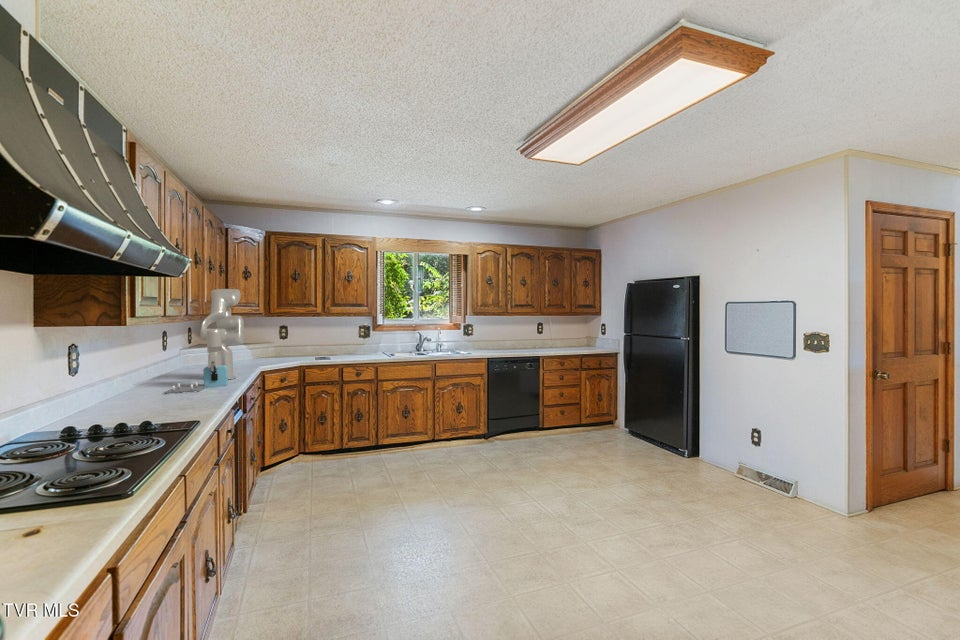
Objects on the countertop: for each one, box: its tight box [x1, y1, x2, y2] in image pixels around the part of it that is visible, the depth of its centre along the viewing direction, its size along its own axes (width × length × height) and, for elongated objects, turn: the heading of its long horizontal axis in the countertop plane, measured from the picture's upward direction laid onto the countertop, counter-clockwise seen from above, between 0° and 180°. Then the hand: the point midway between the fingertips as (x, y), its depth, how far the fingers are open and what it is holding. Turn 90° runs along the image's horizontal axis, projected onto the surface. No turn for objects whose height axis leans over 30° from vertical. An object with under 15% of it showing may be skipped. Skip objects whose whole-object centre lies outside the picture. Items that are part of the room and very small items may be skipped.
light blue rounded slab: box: [202, 366, 229, 388], centre depth 275 cm, size 12×4×12 cm, turn 111°
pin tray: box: [163, 381, 207, 394], centre depth 261 cm, size 14×17×4 cm
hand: (215, 379), depth 275 cm, fingers closed on light blue rounded slab, 4 cm apart
